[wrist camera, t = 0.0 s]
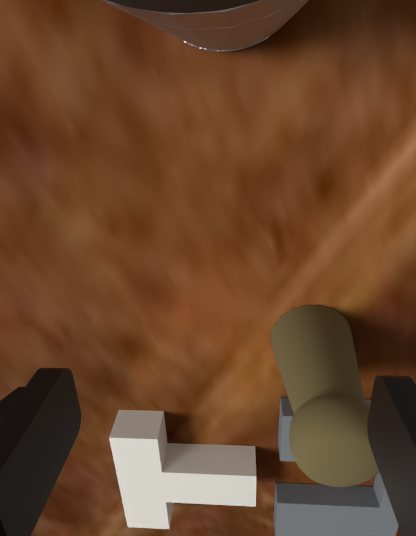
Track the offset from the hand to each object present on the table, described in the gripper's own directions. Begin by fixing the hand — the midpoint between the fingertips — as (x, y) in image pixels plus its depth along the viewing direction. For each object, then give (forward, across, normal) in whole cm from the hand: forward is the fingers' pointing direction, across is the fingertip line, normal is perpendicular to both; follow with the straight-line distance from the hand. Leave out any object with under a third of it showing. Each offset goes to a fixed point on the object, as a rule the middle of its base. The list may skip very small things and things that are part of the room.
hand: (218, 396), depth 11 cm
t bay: (+18, -9, +24) cm, 32 cm away
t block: (+18, +4, +24) cm, 30 cm away
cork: (+18, -6, +10) cm, 21 cm away
